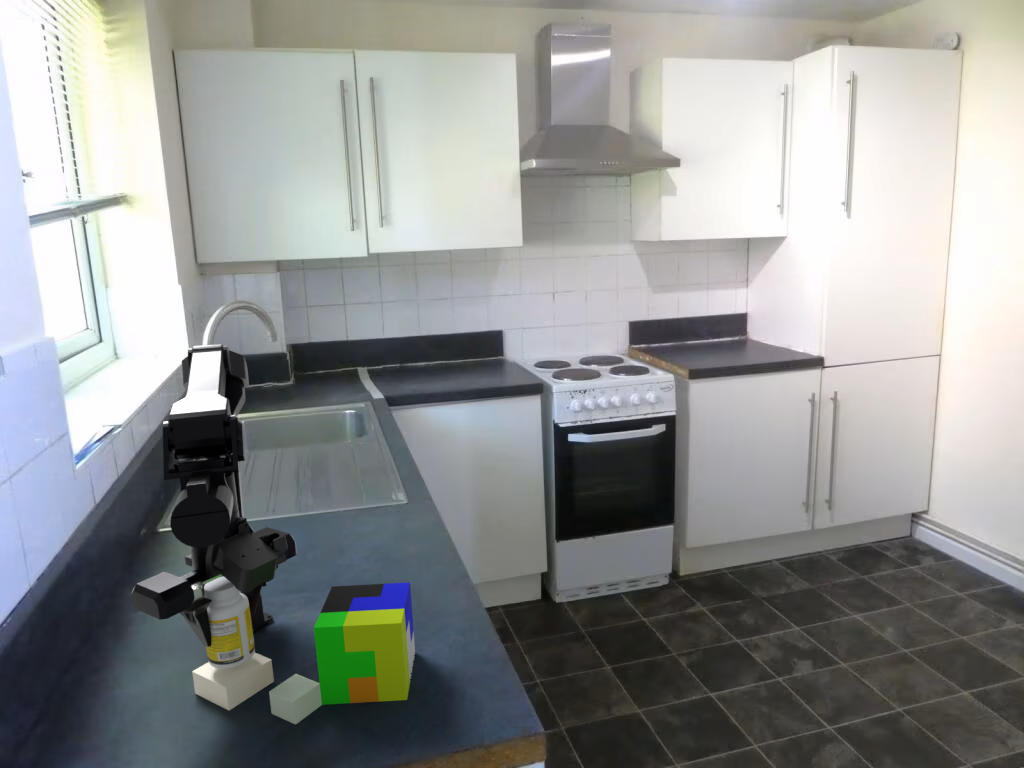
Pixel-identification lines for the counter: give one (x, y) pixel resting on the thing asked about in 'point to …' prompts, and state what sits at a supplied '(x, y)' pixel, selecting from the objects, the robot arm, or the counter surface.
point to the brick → (295, 698)
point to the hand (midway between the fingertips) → (228, 634)
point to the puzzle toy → (365, 643)
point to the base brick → (233, 681)
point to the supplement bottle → (228, 625)
